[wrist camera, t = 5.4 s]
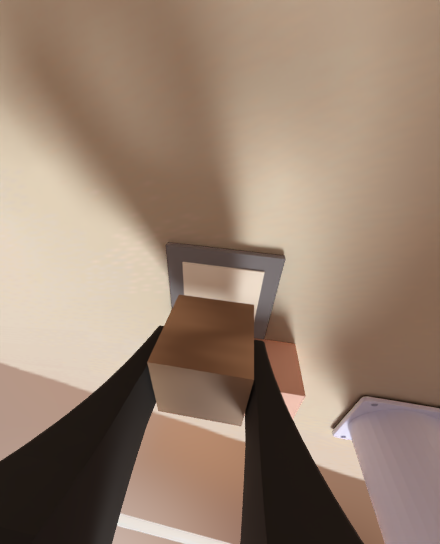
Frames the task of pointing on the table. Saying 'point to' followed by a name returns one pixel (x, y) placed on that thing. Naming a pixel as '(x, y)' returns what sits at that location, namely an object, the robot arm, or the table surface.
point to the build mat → (226, 277)
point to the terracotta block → (286, 372)
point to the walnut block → (205, 360)
